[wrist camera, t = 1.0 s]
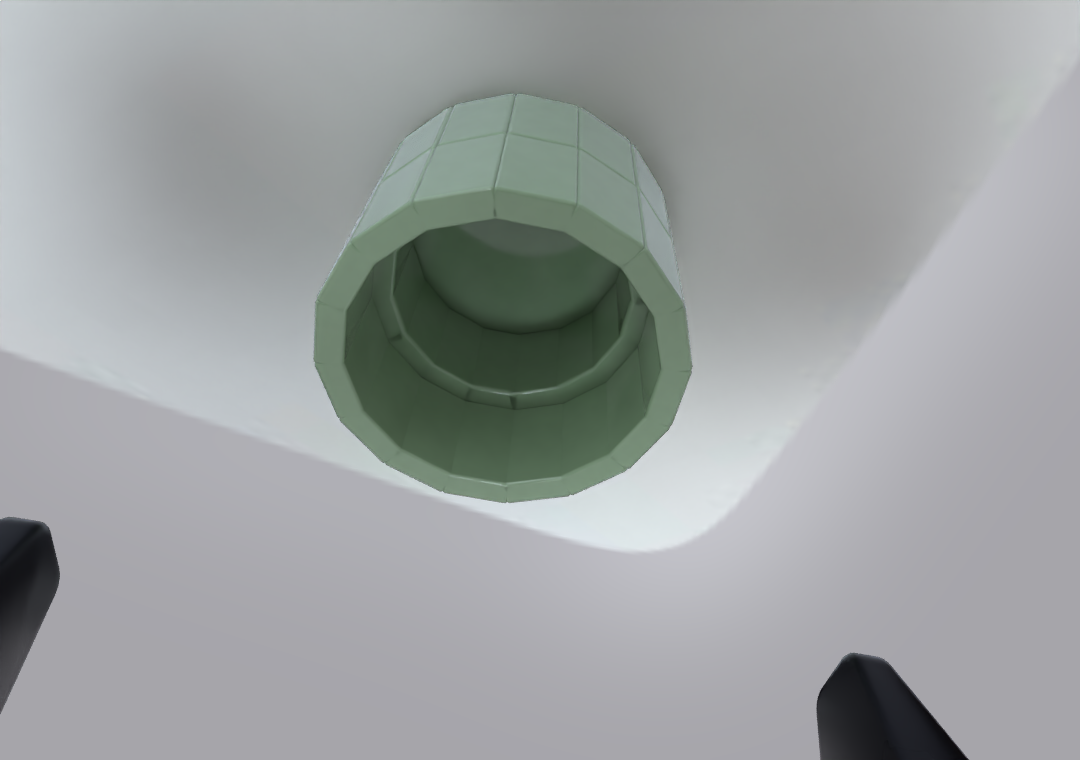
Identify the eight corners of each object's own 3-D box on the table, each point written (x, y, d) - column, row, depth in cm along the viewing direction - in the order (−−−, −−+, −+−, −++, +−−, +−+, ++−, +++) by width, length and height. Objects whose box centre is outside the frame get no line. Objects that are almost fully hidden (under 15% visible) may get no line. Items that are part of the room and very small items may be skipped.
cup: (624, 370, 19) (634, 526, 15) (369, 322, 19) (309, 471, 14) (703, 120, 16) (744, 236, 11) (390, 54, 15) (319, 150, 11)
